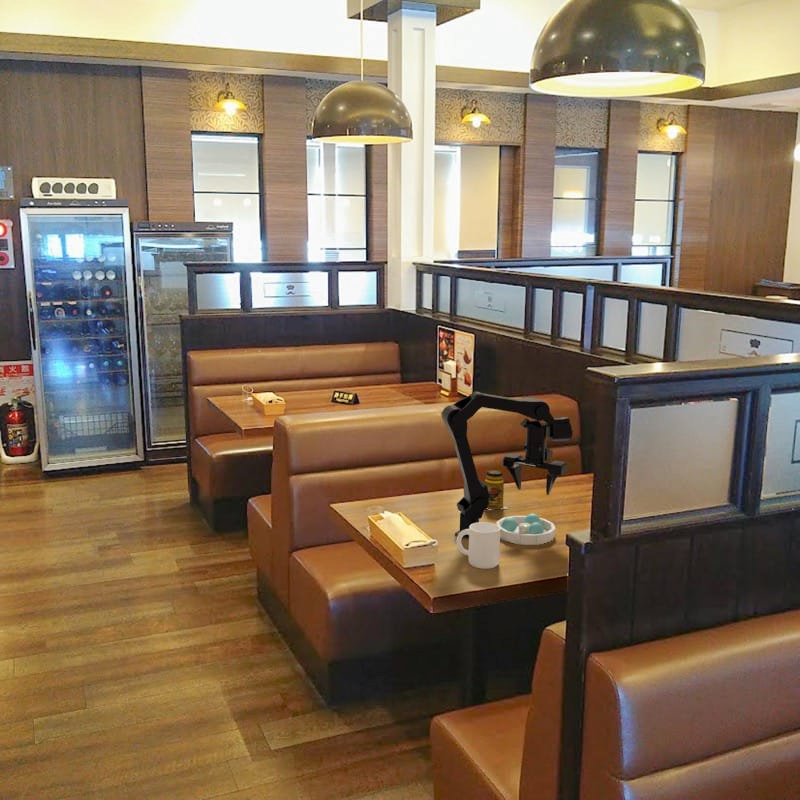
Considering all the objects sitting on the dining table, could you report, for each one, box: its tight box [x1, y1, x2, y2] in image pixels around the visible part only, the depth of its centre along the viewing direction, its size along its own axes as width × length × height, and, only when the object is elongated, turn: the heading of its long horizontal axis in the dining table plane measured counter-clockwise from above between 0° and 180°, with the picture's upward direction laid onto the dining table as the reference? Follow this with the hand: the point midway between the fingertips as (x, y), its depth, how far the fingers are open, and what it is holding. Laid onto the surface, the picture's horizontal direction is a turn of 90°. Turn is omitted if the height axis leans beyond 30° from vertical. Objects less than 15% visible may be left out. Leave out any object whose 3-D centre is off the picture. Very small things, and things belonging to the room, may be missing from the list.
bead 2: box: [525, 513, 540, 524], centre depth 254 cm, size 4×4×4 cm
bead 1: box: [502, 516, 517, 532], centre depth 250 cm, size 4×4×4 cm
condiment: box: [484, 469, 509, 512], centre depth 275 cm, size 7×8×12 cm
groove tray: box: [495, 515, 557, 546], centre depth 250 cm, size 17×17×3 cm
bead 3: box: [529, 522, 544, 534], centre depth 246 cm, size 4×4×4 cm
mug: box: [456, 521, 501, 570], centre depth 228 cm, size 12×8×10 cm
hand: (533, 492), depth 252 cm, fingers open, 9 cm apart
